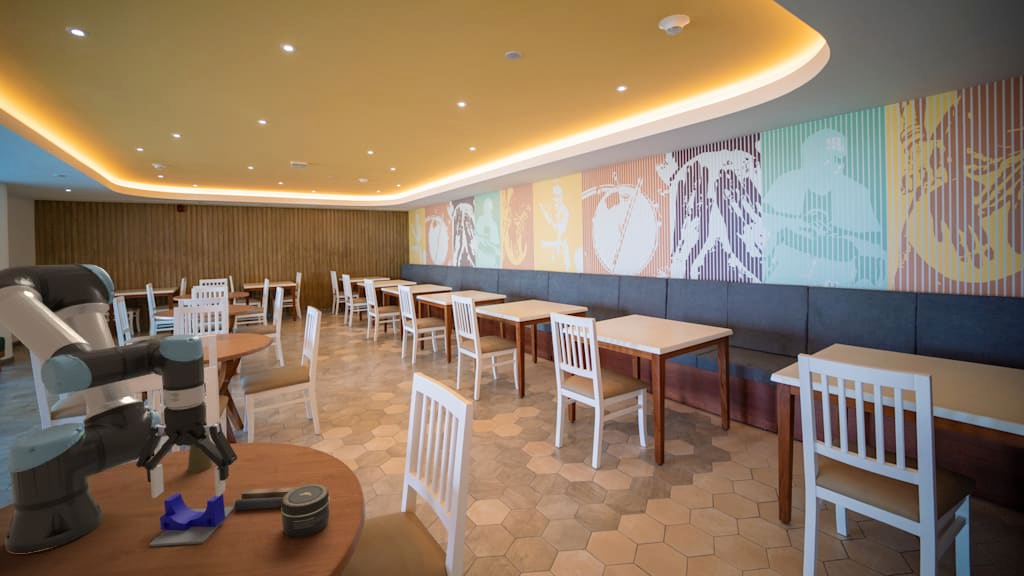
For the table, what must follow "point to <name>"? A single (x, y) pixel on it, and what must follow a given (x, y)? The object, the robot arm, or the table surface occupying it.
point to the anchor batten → (265, 493)
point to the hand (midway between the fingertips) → (189, 493)
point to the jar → (305, 510)
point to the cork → (198, 460)
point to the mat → (188, 533)
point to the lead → (258, 503)
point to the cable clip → (191, 514)
